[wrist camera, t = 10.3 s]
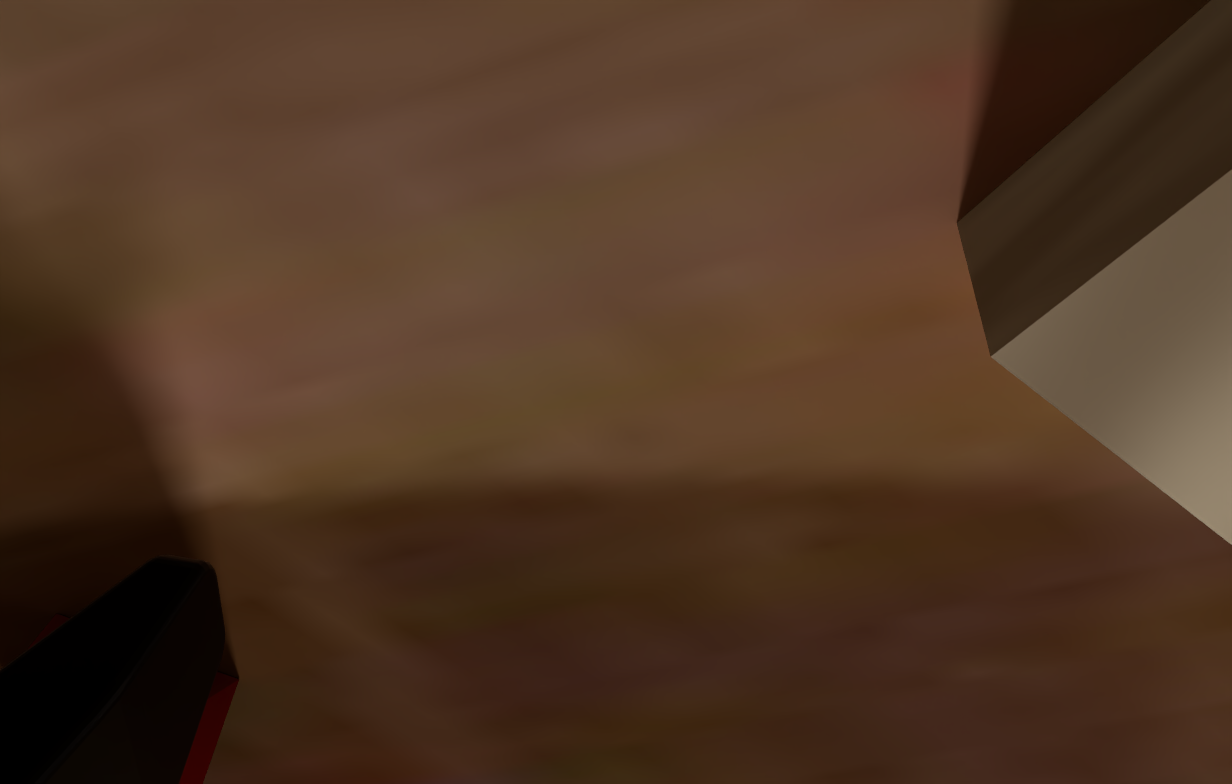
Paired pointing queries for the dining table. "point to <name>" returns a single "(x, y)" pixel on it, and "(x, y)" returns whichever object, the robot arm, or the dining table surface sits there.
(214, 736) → the french fries
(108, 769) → the robot arm
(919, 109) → the dining table surface
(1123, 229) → the birch block
